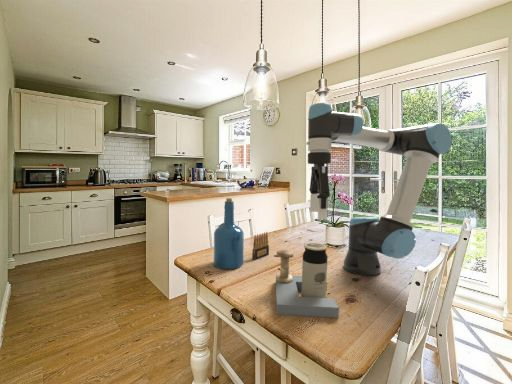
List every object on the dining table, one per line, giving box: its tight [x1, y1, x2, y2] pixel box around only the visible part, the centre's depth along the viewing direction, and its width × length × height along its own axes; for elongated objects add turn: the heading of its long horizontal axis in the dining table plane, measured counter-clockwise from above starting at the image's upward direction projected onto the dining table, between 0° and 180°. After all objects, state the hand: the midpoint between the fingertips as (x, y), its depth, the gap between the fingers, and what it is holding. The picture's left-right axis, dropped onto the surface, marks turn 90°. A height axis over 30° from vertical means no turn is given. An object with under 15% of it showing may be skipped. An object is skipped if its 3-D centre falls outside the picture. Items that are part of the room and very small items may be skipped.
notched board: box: [275, 274, 340, 319], centre depth 86 cm, size 18×22×3 cm
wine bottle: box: [213, 197, 245, 270], centre depth 114 cm, size 14×13×30 cm
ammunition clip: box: [251, 231, 270, 261], centre depth 126 cm, size 11×2×12 cm, turn 139°
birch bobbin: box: [275, 249, 294, 283], centre depth 93 cm, size 6×6×10 cm
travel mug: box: [300, 242, 328, 298], centre depth 86 cm, size 8×8×18 cm
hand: (317, 215), depth 88 cm, fingers open, 13 cm apart
